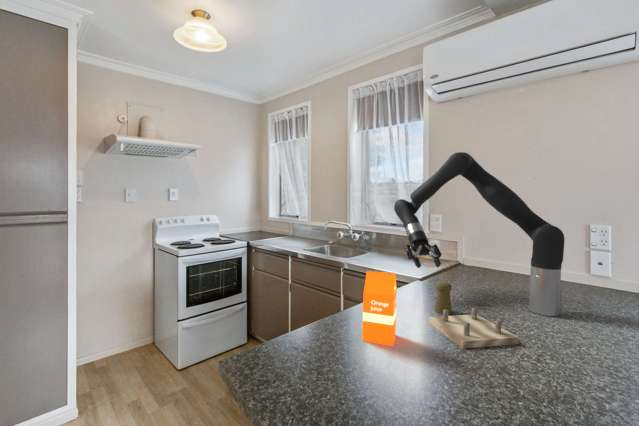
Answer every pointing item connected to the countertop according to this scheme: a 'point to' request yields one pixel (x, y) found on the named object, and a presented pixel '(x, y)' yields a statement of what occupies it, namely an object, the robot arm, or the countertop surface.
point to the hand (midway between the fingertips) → (429, 266)
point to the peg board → (472, 330)
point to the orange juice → (379, 308)
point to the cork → (443, 298)
